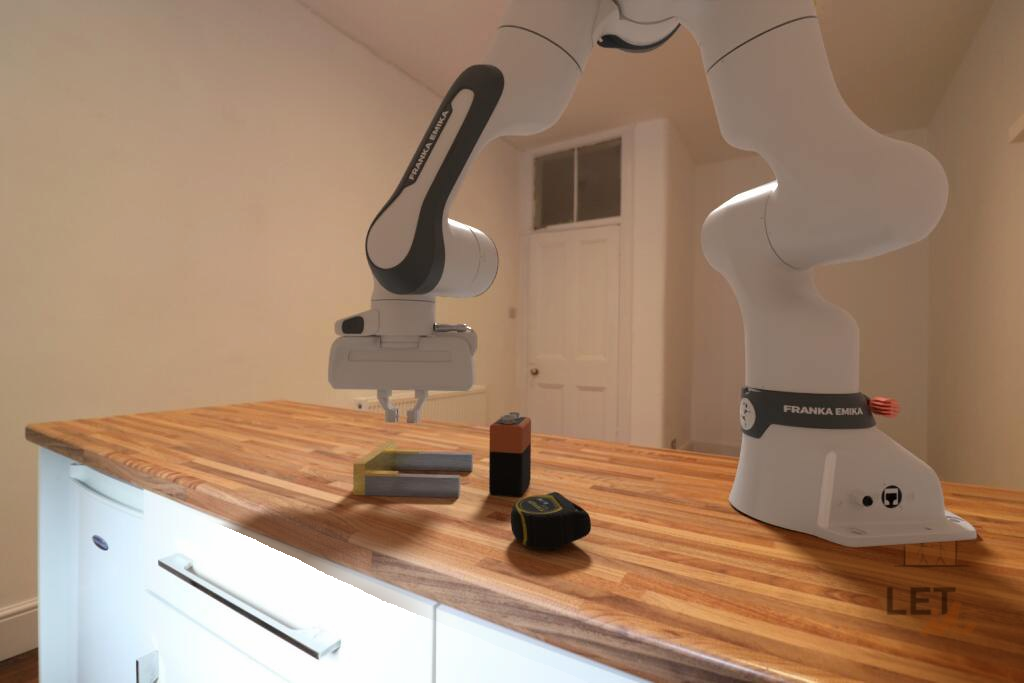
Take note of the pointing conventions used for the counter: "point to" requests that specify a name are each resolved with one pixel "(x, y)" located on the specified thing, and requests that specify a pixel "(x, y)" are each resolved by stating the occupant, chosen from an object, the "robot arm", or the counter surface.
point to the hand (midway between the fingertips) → (402, 422)
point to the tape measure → (548, 521)
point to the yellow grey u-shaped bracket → (381, 481)
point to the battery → (510, 455)
